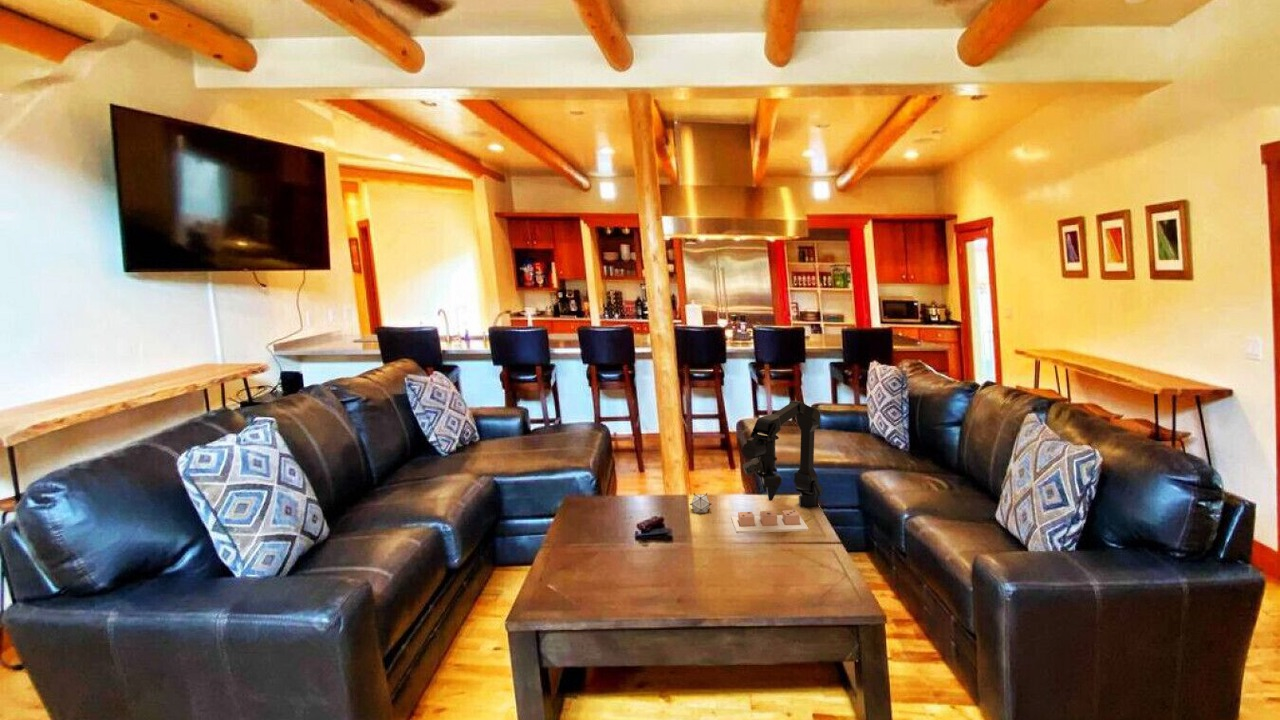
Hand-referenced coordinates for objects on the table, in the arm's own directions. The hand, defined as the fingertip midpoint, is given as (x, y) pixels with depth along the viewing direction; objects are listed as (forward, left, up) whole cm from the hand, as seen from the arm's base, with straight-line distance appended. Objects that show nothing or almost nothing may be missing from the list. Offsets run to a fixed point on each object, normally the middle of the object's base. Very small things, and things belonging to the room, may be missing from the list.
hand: (767, 495), depth 215 cm
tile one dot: (0, 0, -11) cm, 11 cm away
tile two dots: (+8, 0, -11) cm, 13 cm away
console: (0, 0, -12) cm, 12 cm away
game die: (+23, -15, -12) cm, 30 cm away
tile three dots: (-8, 0, -11) cm, 13 cm away
